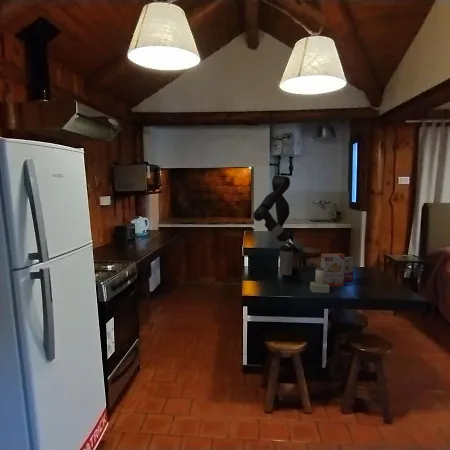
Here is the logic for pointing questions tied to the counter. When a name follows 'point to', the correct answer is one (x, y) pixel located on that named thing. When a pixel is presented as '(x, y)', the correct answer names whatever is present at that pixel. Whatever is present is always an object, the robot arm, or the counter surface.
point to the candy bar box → (348, 269)
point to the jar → (319, 276)
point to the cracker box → (333, 269)
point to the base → (319, 287)
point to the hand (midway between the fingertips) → (297, 251)
